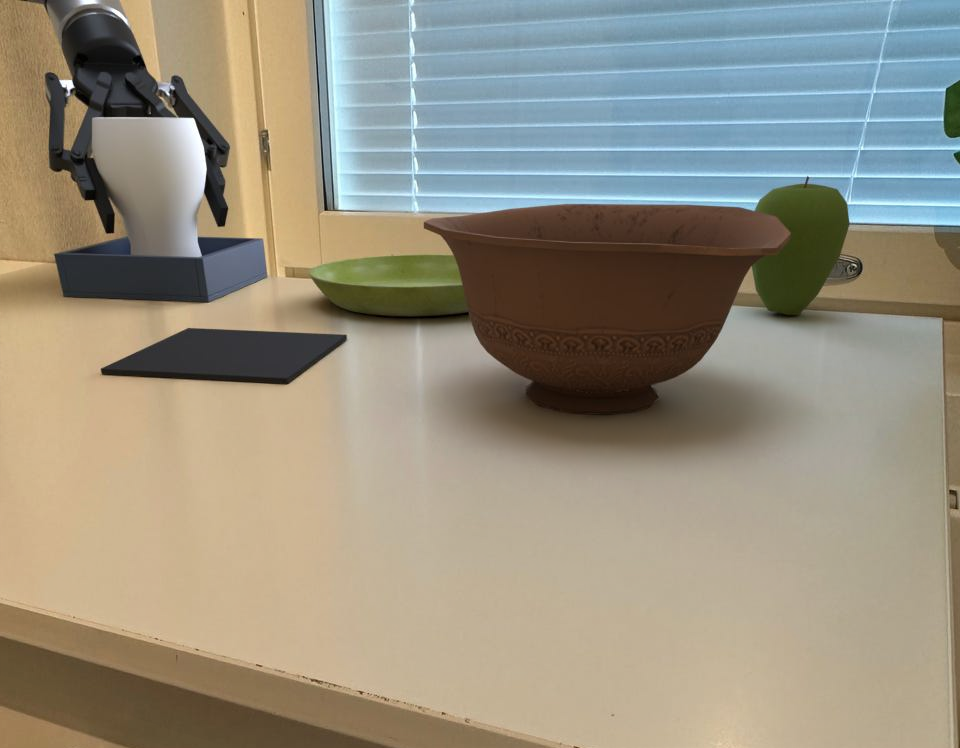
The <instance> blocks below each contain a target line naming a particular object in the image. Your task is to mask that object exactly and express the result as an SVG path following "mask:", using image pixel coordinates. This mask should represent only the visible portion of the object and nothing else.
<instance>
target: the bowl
mask: <svg viewBox="0 0 960 748" xmlns="http://www.w3.org/2000/svg"><path fill="white" fill-rule="evenodd" d="M423 230H427V231H429V232H432V233H434V234H436V235H439V236H440V237H441V238H442V239H443V241H444V242H445V243H446V244H447V246H448V248H449V249H450V251H451V253H452V255H454V257H455V260H456V262H457V265H458V268H459V272H460V276H461V280H462V285H463V289H464V294H465V299H466V303H467V308H468V312H467V313H468V316H469V319H470V323H471V326H472V328H473V332H474V334H475V336H476V338H477V340H478V342H479V344H480V345H481V347H482V348H483V349H484V350H485V351H486V353H488V354H489V355H490V356H491V357H492V358H494V360H496V361H497V362H499V363H500V364H501V365H503V366H504V367H506V368H507V369H508V370H510V371H511V372H513V373H515V374H516V375H519V376H520V377H522V378H525V379H527V380H530V381H531V382H530V383H528V385H526V386H525V392H524V394H525V396H526V397H527V398H528V399H530V400H531V401H532V402H534V403H535V404H536V405H539V406H541V407H545V408H548V409H551V410H554V411H560V412H567V413H573V414H581V415H616V414H629V413H635V412H638V411H641V410H645V409H648V408H650V407H651V406H652V405H653V404H655V403H656V402H657V401H658V400H659V399H660V395H659V393H658V391H657V388H655V386H653V385H657V384H660V383H664V382H667V381H670V380H672V379H675V378H677V377H680V376H681V375H684V374H685V373H686V372H688V371H689V370H691V369H692V368H694V367H695V366H696V365H698V363H700V362H701V360H702V359H703V358H704V357H705V356H706V355H707V353H708V352H709V351H710V349H711V348H712V346H713V345H714V344H715V343H716V341H717V339H718V337H719V335H720V333H721V332H722V330H723V328H724V326H725V323H726V321H727V318H728V317H729V315H730V311H731V309H732V307H733V305H734V302H735V299H736V297H737V295H738V292H739V291H740V288H741V285H742V283H743V282H744V279H745V277H746V276H747V274H748V272H749V271H750V269H752V265H753V264H754V263H755V262H756V261H758V260H759V259H760V258H762V257H764V256H766V255H776V254H777V253H778V252H779V251H780V250H781V249H782V248H783V247H784V246H785V244H786V243H787V242H788V241H789V240H790V236H791V233H790V232H789V230H788V229H787V228H786V227H785V226H784V225H783V224H782V222H781V221H780V220H779V219H778V218H777V217H776V216H773V215H769V214H765V213H761V212H757V211H755V210H754V209H753V210H752V209H748V208H745V207H741V206H727V205H725V206H724V205H702V204H701V205H700V204H648V203H647V204H646V203H645V204H643V203H641V204H638V203H637V204H634V203H633V204H632V203H631V204H629V203H628V204H626V203H625V204H624V203H563V204H562V203H561V204H547V205H538V206H527V207H515V208H514V207H513V208H506V209H500V210H493V211H487V212H479V213H473V214H467V215H466V214H465V215H455V216H445V217H433V218H430V219H427V220H424V221H423Z"/></svg>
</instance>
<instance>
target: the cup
mask: <svg viewBox="0 0 960 748" xmlns="http://www.w3.org/2000/svg"><path fill="white" fill-rule="evenodd" d="M92 156H93V157H92V158H94V161H95V163H96V166H97V169H98V171H99V174H100V176H101V179H102V182H103V184H104V187H105V189H106V192H107V195H108V197H109V200H110V202H111V204H113V206H114V208H115V209H116V210H117V212H118V214H119V215H120V216H121V219H122V223H123V224H124V228H125V231H126V234H127V236H128V238H129V241H130V244H131V255H146V256H179V257H201V256H202V255H201V251H200V248H199V245H198V237H199V236H198V215H199V214H198V213H199V210H200V207H201V204H202V200H203V197H204V195H205V194H204V188H205V179H206V170H207V168H206V161H205V153H204V146H203V144H202V141H201V138H200V135H199V132H198V129H197V126H196V123H195V120H194V118H179V117H178V118H171V117H102V118H92Z"/></svg>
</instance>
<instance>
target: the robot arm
mask: <svg viewBox="0 0 960 748" xmlns="http://www.w3.org/2000/svg"><path fill="white" fill-rule="evenodd" d="M19 1H22V2H28V3H33V4H37V5H38V4H39V5H43V7H44V9H45V12H46V14H47V16H48V18H49V20H50V23H51V25H52V27H53V30H54V31H53V32H54V33H55V36H56V39H57V42H58V44H59V46H60V49H61V51H62V54H63V57H64V60H65V63H66V65H67V67H68V70H69V73H70V76H71V78H72V79H59V76H58V75H57V74H56V73H55V72H52V71H51V72H50V71H48V72H45V74H44V85H45V86H44V87H45V98H46V101H47V103H48V105H49V127H48V128H49V129H48V162H49V163H48V164H49V165H48V167H49V169H50V170H51V171H53V172H55V173H60V172H62V171H67V172H69V173H70V179H71V181H73V182H74V183H76V186H77V189H78V191H79V194H80V196H81V198H82V199H83V200H84V201H85V202H86V201H93V203H94V205H95V208H96V210H97V213H98V216H99V219H100V221H101V224H102V226H103V229H104V231H105V234H107V235H111V234H115V222H116V221H115V219H116V213H115V210H114V207H113V205H112V201H111V200H110V198H109V197H108V195H107V192H106V189H105V187H104V184H103V182H102V179H101V176H100V174H99V171H98V169H97V166H96V163H95V161H94V157H92V156H93V152H92V118H102V117H171V118H194V120H195V123H196V126H197V129H198V132H199V135H200V138H201V141H202V144H203V146H204V153H205V161H206V168H207V170H206V179H205V188H204V194H203V195H204V196H205V199H206V202H207V204H208V207H209V209H210V212H211V214H212V216H213V219H214V221H215V223H216V227H217V228H225V227H226V224H227V223H226V222H227V218H228V213H229V205H228V203H227V201H226V198H225V196H224V195H225V189H226V178H225V176H224V174H223V171H222V169H224V168H227V166H228V161H229V155H230V150H231V145H230V144H229V142H228V141H227V139H226V138H224V136H223V135H222V134H221V132H220V131H219V130H218V128H217V127H216V126H215V125H214V124H213V123H212V121H211V120H210V119H209V117H208V116H207V115H206V114H205V112H204V111H203V110H202V109H201V107H200V106H199V105H198V104H197V103H196V101H195V100H194V99H193V97H192V96H191V94H190V93H189V92H188V90H187V87H186V85H185V84H186V83H185V81H184V80H183V78H182V77H181V76H179V75H177V74H176V75H175V74H174V75H171V78H170V81H157V79H156V78H155V77H154V76H153V75H152V74H151V73H150V72H149V71H148V68H147V66H146V65H147V64H146V62H145V59H144V57H143V54H142V52H141V49H140V47H139V44H138V42H137V39H136V37H135V35H134V32H133V30H132V27H131V24H130V21H129V19H128V17H127V15H126V11H125V10H124V7H123V5H122V3H121V0H19ZM72 97H75V98H76V99H77V100H78V101H80V102H81V103H82V104H84V106H86V107H87V109H86V112H85V114H84V116H83V119H82V121H81V124H80V127H79V129H78V132H77V134H76V136H75V138H74V141H73V144H72V146H71V148H70V149H64V148H65V126H66V123H65V122H66V110H65V109H66V108H67V107H68V104H69V105H70V103H71V98H72ZM163 99H164V100H163ZM164 101H165V102H166V103H167V106H166V104H165V102H164ZM167 107H168V108H170V109H173V111H174V113H175V114H174V113H173V112H172V111H171V110H170V109H168V108H167ZM221 168H222V169H221Z"/></svg>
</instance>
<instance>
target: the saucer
mask: <svg viewBox="0 0 960 748" xmlns="http://www.w3.org/2000/svg"><path fill="white" fill-rule="evenodd" d="M308 275H309V276H310V278H311V280H312V281H313V283H314V285H316V287H317V288H318V289H319V291H320V292H321V293H322V294H323V295H324V296H325V297H326V298H327V299H328V300H329V301H331V302H332V303H333V304H334V305H335V306H337V307H338V308H341V309H343V310H346V311H350V312H354V313H358V314H366V315H373V316H385V317H433V316H434V317H435V316H436V317H437V316H447V315H457V314H464V313H465V314H466V313H469V312H468V308H467V303H466V299H465V294H464V289H463V285H462V280H461V276H460V272H459V268H458V265H457V262H456V260H455V257H454V255H453V254H440V253H439V254H438V253H437V254H397V255H395V254H393V255H377V256H367V257H358V258H350V259H342V260H335V261H331V262H326V263H322V264H320V265H316V266H314V267H311V269H309V271H308Z"/></svg>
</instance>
